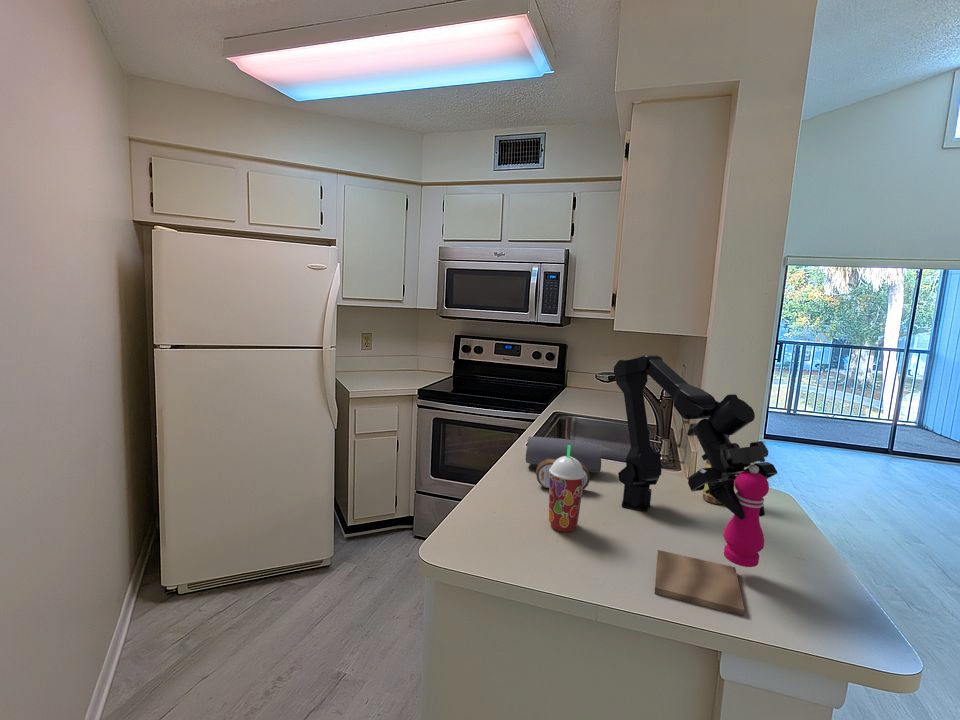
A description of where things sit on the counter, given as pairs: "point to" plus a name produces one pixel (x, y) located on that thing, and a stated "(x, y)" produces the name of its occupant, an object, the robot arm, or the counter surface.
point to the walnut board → (698, 582)
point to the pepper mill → (747, 520)
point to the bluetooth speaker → (563, 451)
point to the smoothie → (565, 492)
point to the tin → (543, 473)
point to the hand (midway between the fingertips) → (752, 517)
